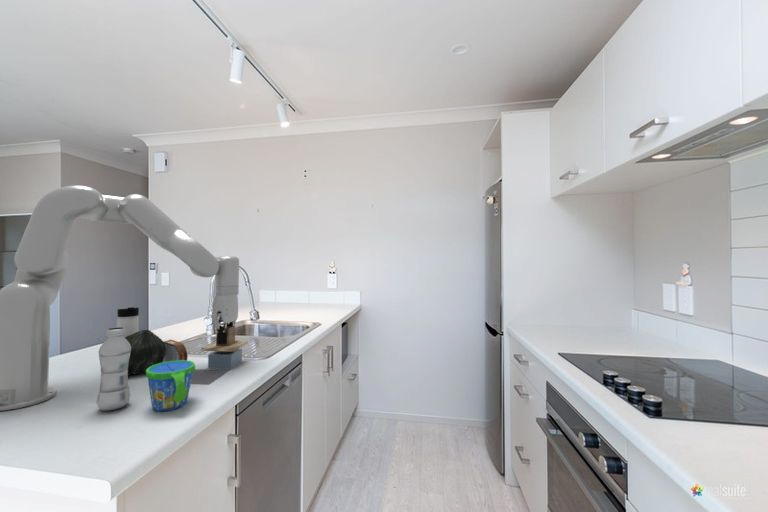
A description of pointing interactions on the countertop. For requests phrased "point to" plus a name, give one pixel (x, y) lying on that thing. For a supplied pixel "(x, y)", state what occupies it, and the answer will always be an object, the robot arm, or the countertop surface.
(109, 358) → the plastic bottle
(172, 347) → the brown curved piece
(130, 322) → the travel mug
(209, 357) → the dish
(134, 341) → the squash
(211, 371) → the mat
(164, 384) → the snack cup
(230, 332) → the lid
